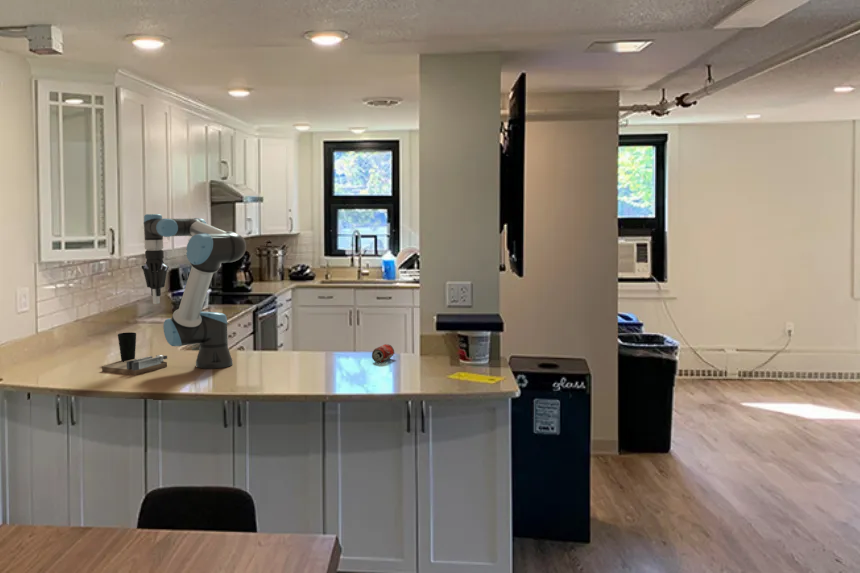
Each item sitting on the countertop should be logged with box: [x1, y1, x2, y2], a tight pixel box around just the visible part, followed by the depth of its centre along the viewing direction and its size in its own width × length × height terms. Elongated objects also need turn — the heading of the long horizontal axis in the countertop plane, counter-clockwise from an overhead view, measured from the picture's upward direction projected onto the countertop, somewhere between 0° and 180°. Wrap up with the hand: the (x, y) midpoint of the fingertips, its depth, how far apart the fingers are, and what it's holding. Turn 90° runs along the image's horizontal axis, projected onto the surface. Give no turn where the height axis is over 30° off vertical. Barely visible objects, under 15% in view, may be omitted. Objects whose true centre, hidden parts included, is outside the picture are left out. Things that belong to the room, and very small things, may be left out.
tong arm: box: [127, 355, 153, 369], centre depth 313 cm, size 1×13×3 cm, turn 156°
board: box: [101, 358, 168, 376], centre depth 318 cm, size 18×18×2 cm
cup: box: [117, 331, 137, 362], centre depth 336 cm, size 8×8×12 cm
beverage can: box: [371, 343, 395, 364], centre depth 334 cm, size 7×12×7 cm, turn 162°
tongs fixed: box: [132, 354, 168, 370], centre depth 315 cm, size 4×20×3 cm, turn 156°
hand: (156, 303), depth 330 cm, fingers closed
